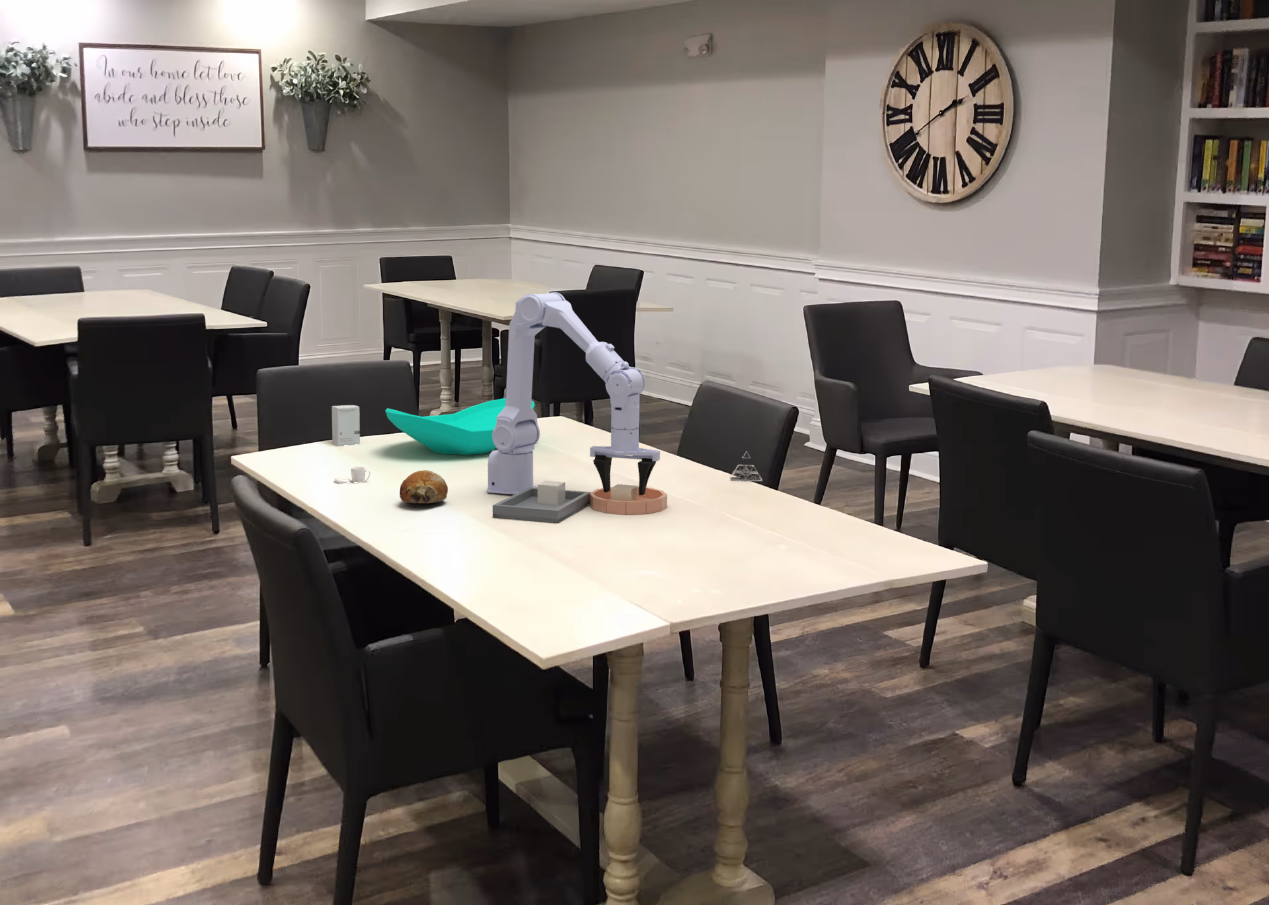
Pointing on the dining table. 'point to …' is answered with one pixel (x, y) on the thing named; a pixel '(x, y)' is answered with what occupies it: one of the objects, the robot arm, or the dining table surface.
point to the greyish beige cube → (551, 492)
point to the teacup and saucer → (354, 475)
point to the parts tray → (540, 506)
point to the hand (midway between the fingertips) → (624, 492)
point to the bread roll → (423, 488)
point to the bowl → (629, 502)
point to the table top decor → (453, 428)
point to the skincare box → (345, 425)
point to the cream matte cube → (624, 492)
